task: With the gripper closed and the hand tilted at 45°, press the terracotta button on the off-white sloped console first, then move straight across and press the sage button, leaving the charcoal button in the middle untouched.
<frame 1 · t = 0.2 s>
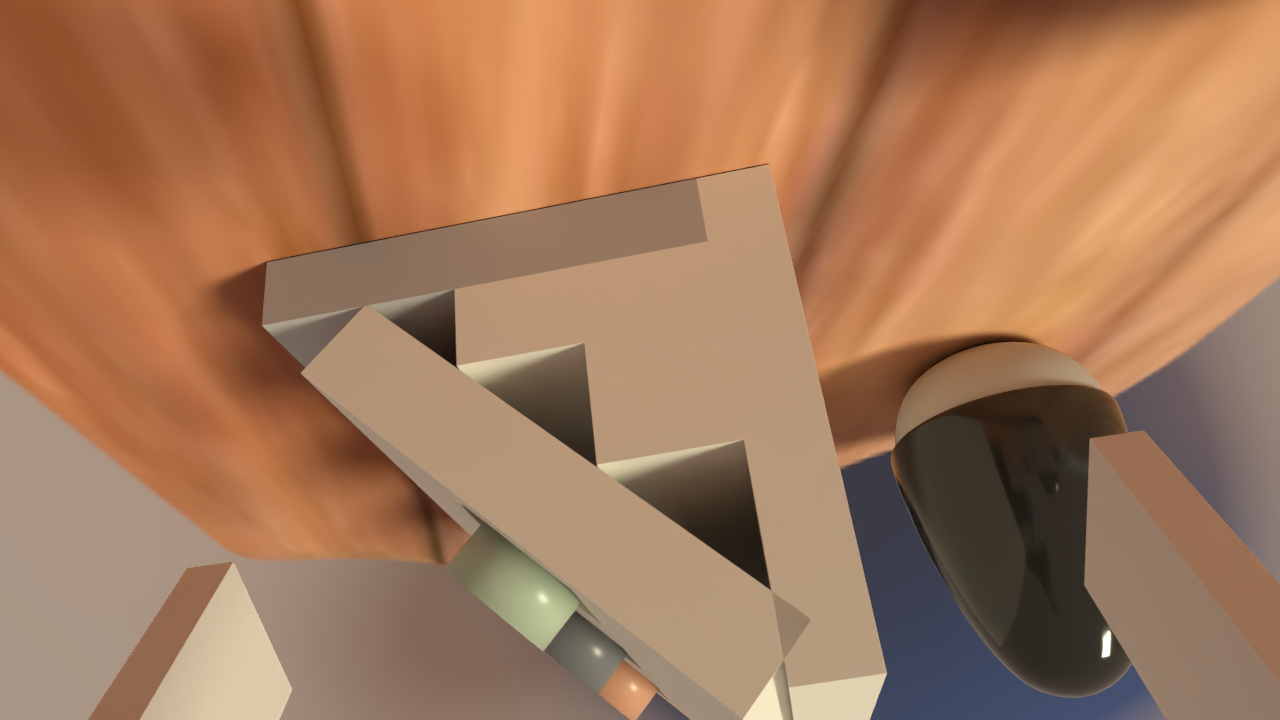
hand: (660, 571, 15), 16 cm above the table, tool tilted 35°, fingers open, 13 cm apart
dark grey egg figure: (977, 365, 47), on the table
button console: (610, 376, 43), on the table
charcoal button: (576, 635, 38), point 11 cm above the table, slide at 0.0 cm
terracotta button: (616, 673, 45), point 11 cm above the table, slide at 0.0 cm
sage button: (518, 579, 30), point 11 cm above the table, slide at 0.0 cm
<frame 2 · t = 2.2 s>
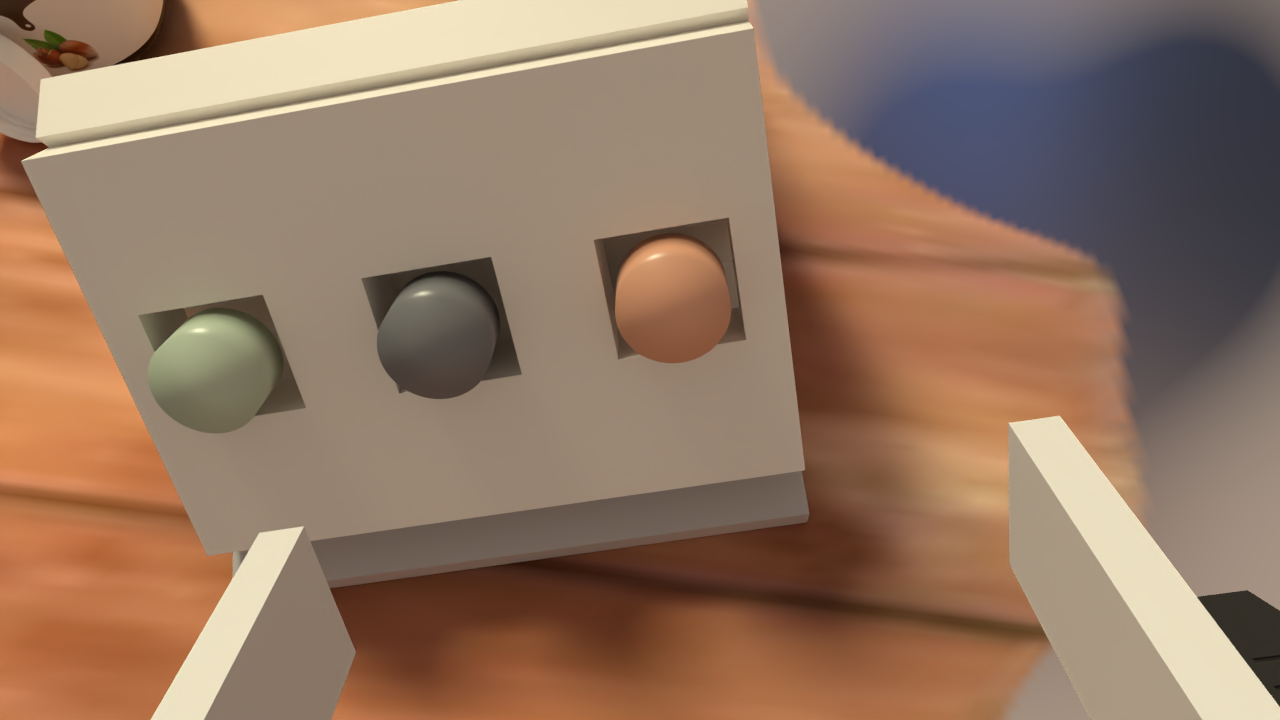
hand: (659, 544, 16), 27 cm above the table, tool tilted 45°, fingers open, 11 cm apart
button console: (511, 360, 46), on the table
charcoal button: (440, 334, 35), point 11 cm above the table, slide at 0.0 cm
terracotta button: (672, 297, 34), point 11 cm above the table, slide at 0.0 cm
sage button: (217, 370, 36), point 11 cm above the table, slide at 0.0 cm
spread jar: (90, 60, 55), on the table
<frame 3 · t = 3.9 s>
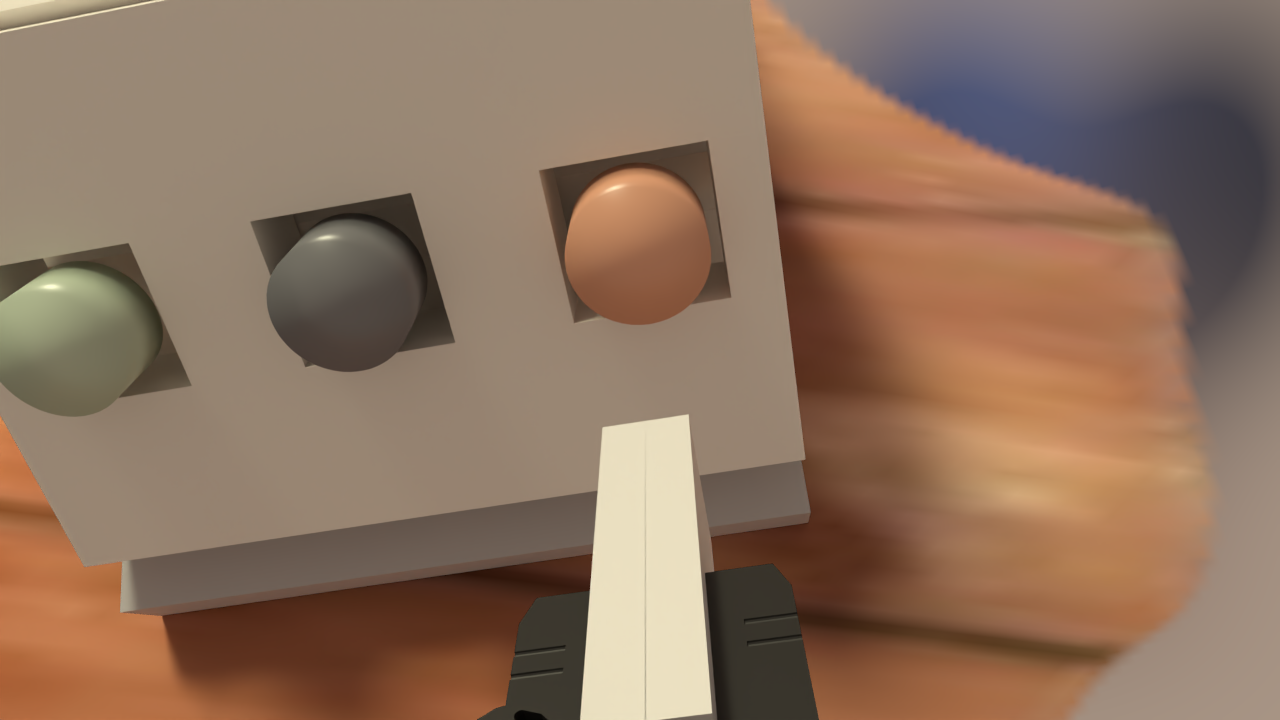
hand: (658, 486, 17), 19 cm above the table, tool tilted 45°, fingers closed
button console: (458, 334, 39), on the table
charcoal button: (350, 291, 28), point 11 cm above the table, slide at 0.0 cm
terracotta button: (638, 243, 28), point 11 cm above the table, slide at 0.0 cm
sage button: (76, 338, 29), point 11 cm above the table, slide at 0.0 cm
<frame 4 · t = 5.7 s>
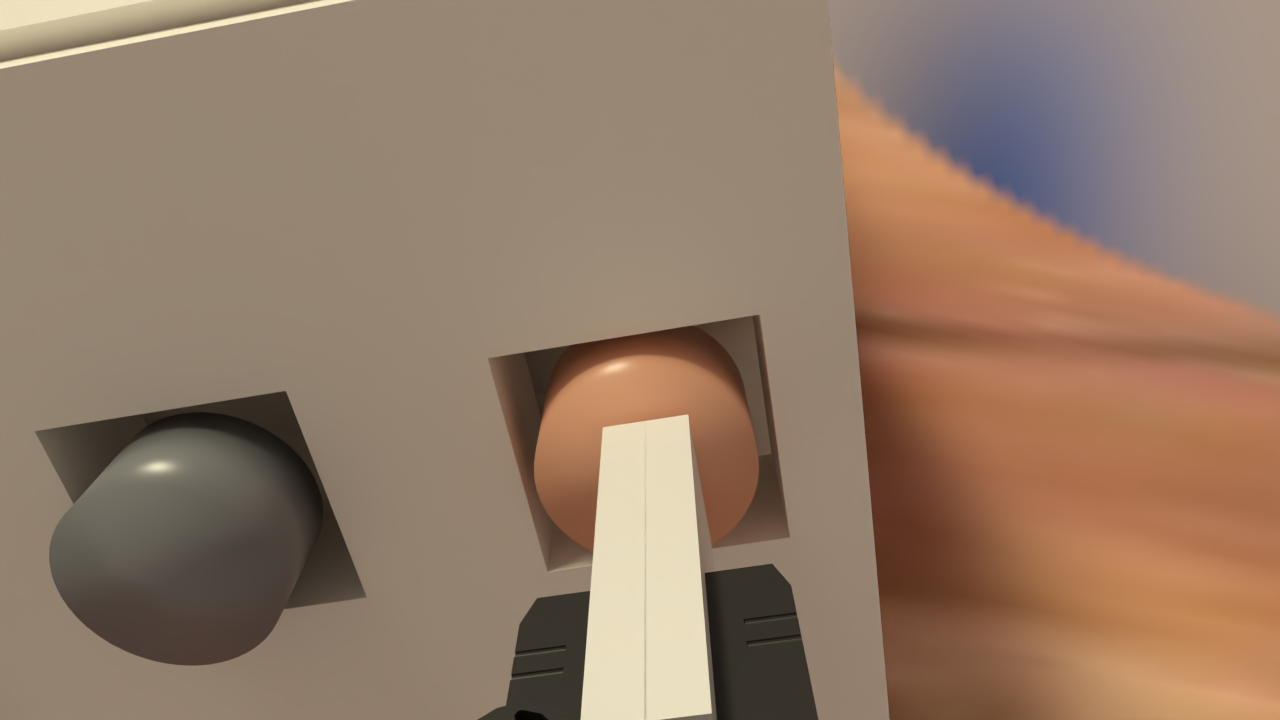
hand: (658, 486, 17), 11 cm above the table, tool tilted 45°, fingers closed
button console: (401, 501, 29), on the table
charcoal button: (195, 537, 18), point 11 cm above the table, slide at 0.0 cm
terracotta button: (646, 437, 18), point 10 cm above the table, slide at 1.1 cm, touching gripper
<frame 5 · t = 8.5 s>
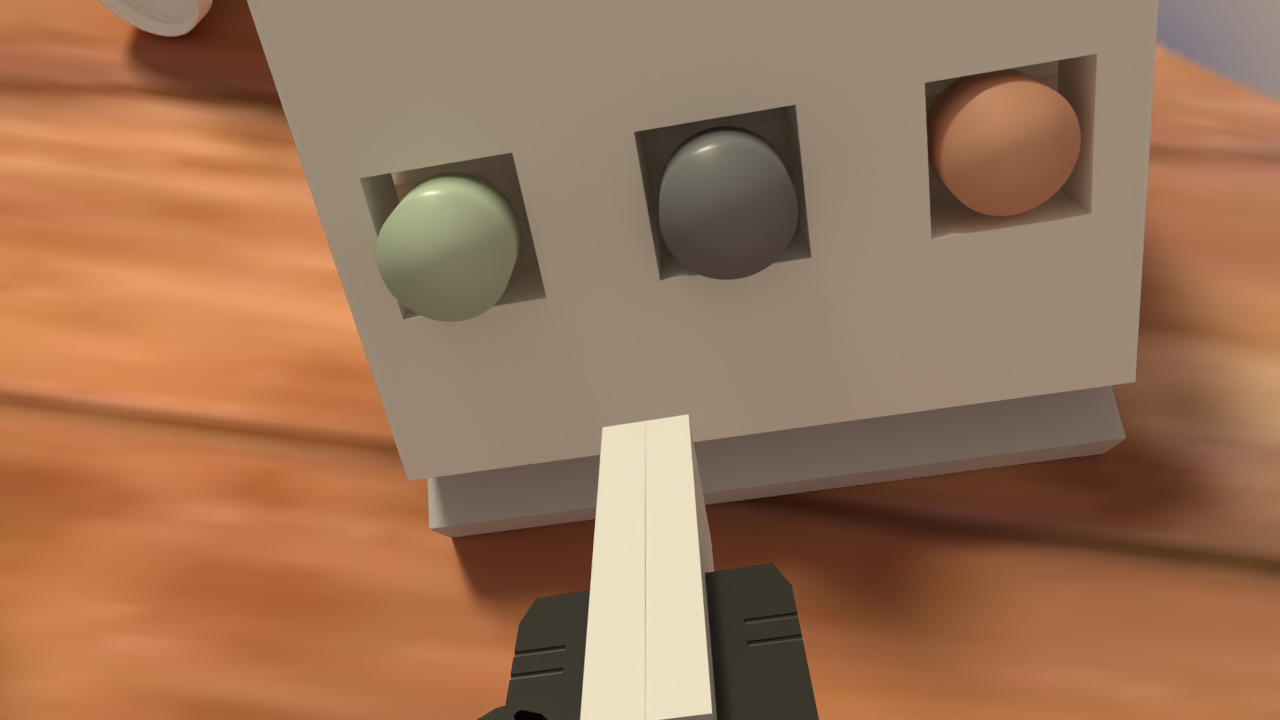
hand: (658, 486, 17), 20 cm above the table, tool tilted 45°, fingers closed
button console: (732, 270, 40), on the table
charcoal button: (726, 202, 29), point 11 cm above the table, slide at 0.0 cm
terracotta button: (998, 141, 30), point 10 cm above the table, slide at 1.7 cm
sage button: (451, 246, 30), point 11 cm above the table, slide at 0.0 cm
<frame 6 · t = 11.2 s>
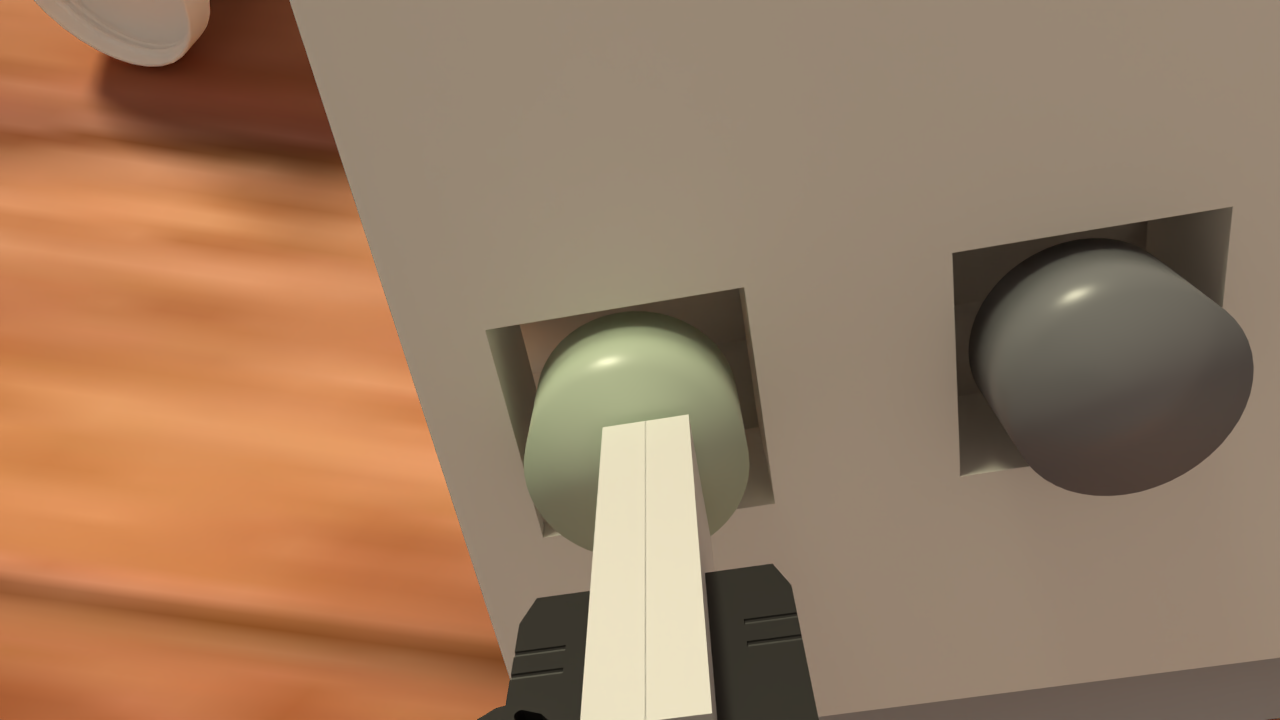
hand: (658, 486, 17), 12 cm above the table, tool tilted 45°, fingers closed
button console: (957, 395, 29), on the table
charcoal button: (1100, 365, 17), point 11 cm above the table, slide at 0.0 cm
sage button: (636, 434, 18), point 11 cm above the table, slide at 0.1 cm, touching gripper
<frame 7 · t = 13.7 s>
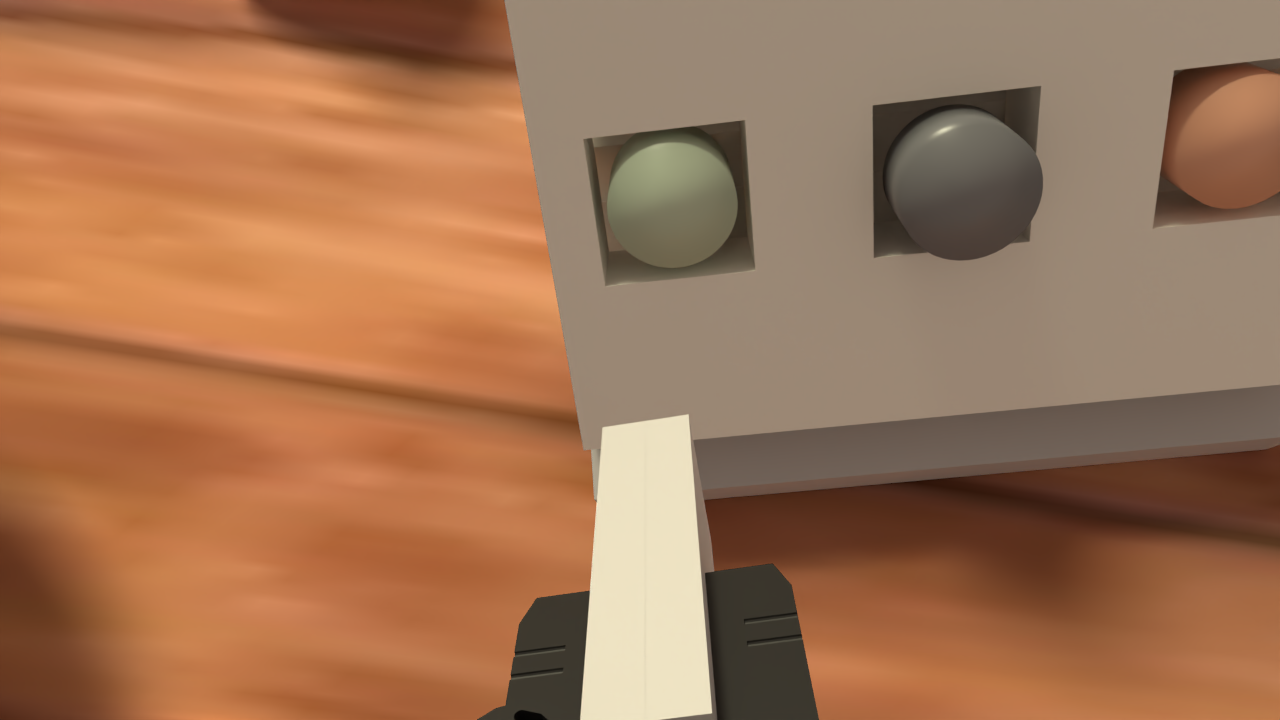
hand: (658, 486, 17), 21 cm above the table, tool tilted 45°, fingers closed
button console: (889, 250, 40), on the table
charcoal button: (959, 182, 29), point 11 cm above the table, slide at 0.0 cm
terracotta button: (1226, 133, 30), point 10 cm above the table, slide at 1.7 cm
sage button: (671, 194, 31), point 10 cm above the table, slide at 1.8 cm
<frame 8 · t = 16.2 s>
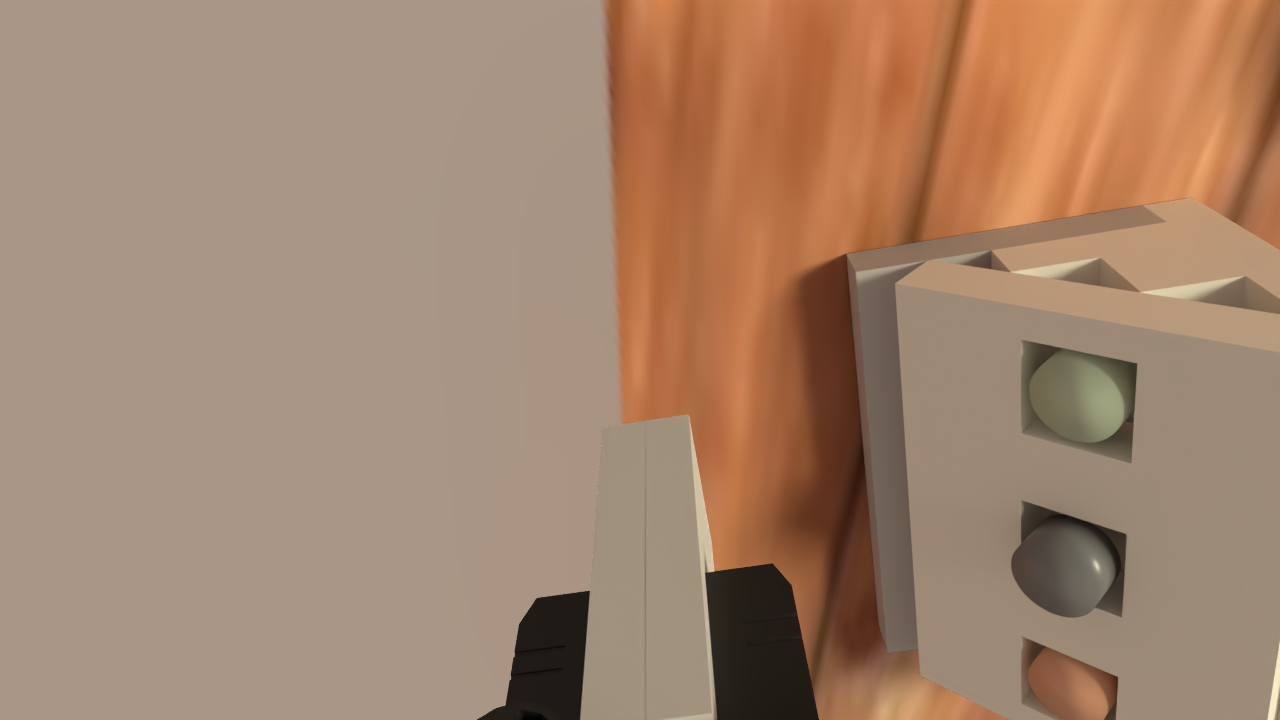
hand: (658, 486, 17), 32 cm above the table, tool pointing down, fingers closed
button console: (1034, 433, 54), on the table
charcoal button: (1065, 565, 45), point 11 cm above the table, slide at 0.0 cm
terracotta button: (1077, 677, 49), point 10 cm above the table, slide at 1.7 cm
sage button: (1087, 388, 42), point 10 cm above the table, slide at 1.8 cm
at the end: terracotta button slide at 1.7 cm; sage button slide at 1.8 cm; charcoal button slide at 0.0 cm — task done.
